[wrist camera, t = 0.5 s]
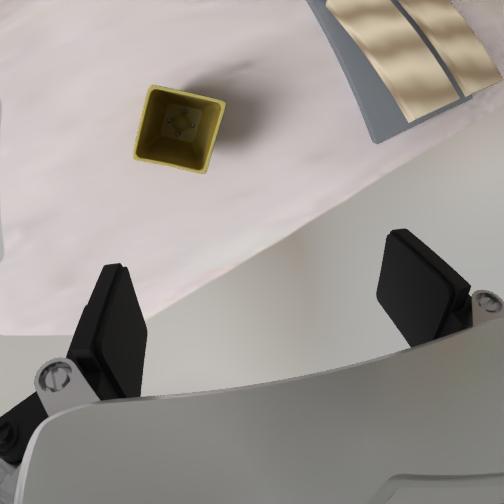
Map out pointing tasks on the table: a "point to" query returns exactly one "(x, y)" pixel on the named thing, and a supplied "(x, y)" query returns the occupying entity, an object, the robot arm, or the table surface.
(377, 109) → the floor board
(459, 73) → the oak plank
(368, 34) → the oak plank
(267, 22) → the table surface
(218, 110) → the flower pot
